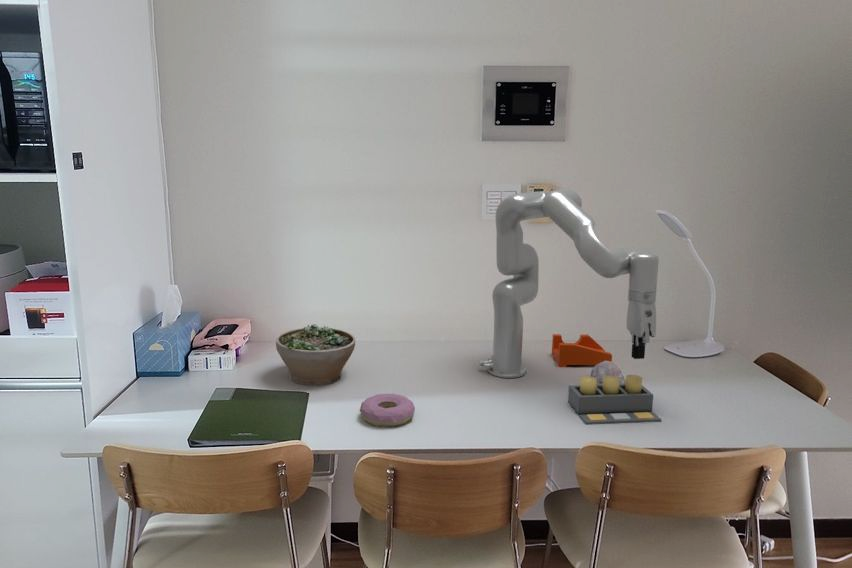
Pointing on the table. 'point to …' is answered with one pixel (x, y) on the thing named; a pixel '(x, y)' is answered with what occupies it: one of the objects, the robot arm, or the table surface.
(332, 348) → the planter
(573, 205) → the robot arm
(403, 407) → the donut
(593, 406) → the grey compartment tray
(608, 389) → the button mid
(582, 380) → the button left
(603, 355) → the tape dispenser
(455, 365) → the table surface
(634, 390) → the button right
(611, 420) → the strip
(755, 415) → the table surface
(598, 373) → the stone
